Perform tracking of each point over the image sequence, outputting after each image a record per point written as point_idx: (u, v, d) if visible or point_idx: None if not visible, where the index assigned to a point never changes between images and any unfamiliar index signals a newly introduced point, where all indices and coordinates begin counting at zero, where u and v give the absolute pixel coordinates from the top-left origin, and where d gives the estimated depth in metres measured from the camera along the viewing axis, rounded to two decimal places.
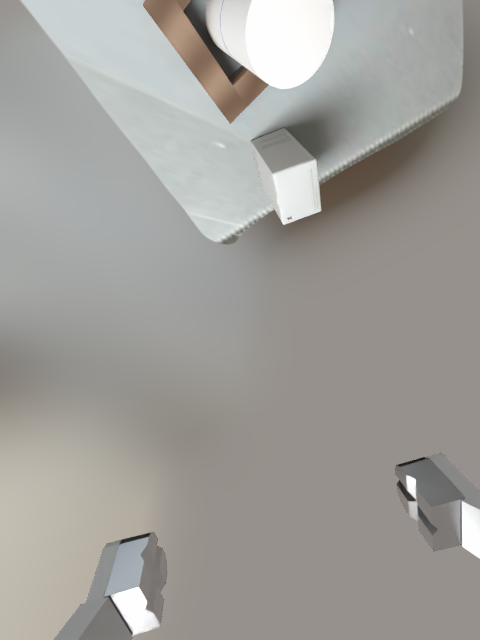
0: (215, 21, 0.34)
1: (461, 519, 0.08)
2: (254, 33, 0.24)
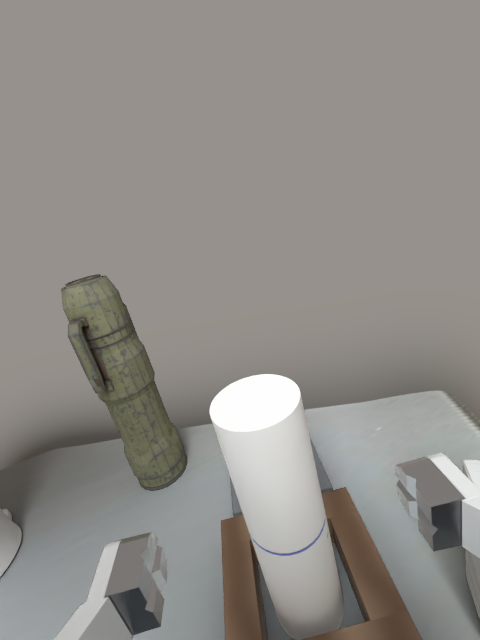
0: (274, 577, 0.26)
1: (462, 519, 0.08)
2: (234, 423, 0.22)
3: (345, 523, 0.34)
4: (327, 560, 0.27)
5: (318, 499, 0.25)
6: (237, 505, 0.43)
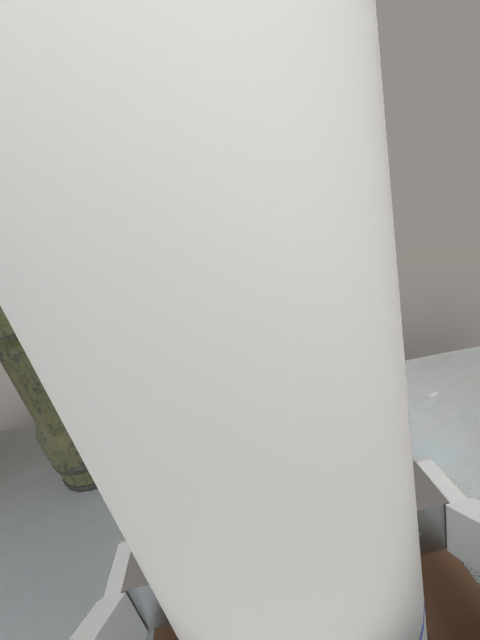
0: None
1: (446, 524, 0.08)
2: None
3: None
4: None
5: (416, 523, 0.07)
6: None
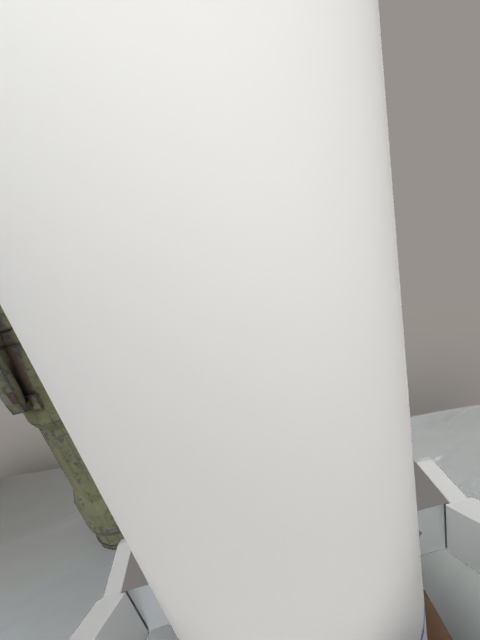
0: None
1: (446, 524, 0.08)
2: None
3: None
4: None
5: (417, 527, 0.07)
6: None
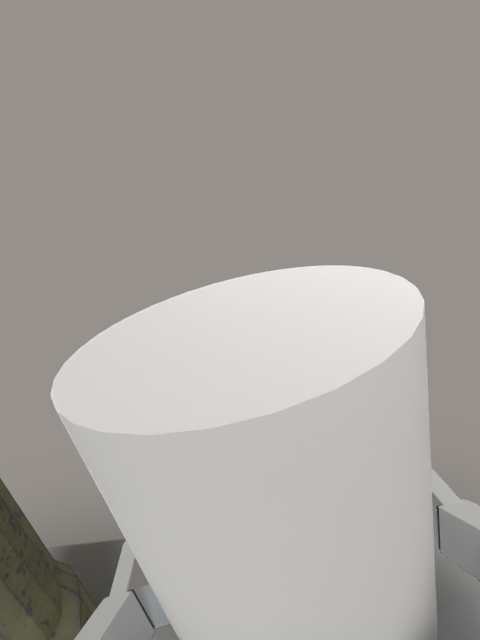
0: None
1: (439, 525, 0.08)
2: (122, 393, 0.05)
3: None
4: None
5: None
6: None
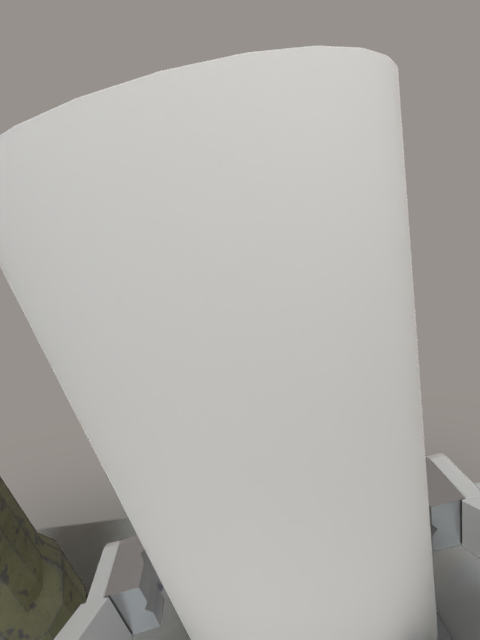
0: None
1: (461, 519, 0.08)
2: None
3: None
4: None
5: (430, 564, 0.07)
6: None
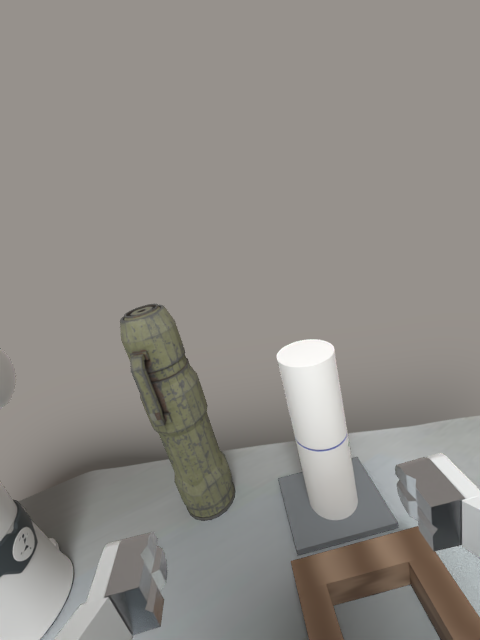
0: (312, 468, 0.41)
1: (461, 519, 0.08)
2: (293, 363, 0.37)
3: (426, 568, 0.33)
4: (347, 460, 0.41)
5: (343, 418, 0.40)
6: (300, 540, 0.42)
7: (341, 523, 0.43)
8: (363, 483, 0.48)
